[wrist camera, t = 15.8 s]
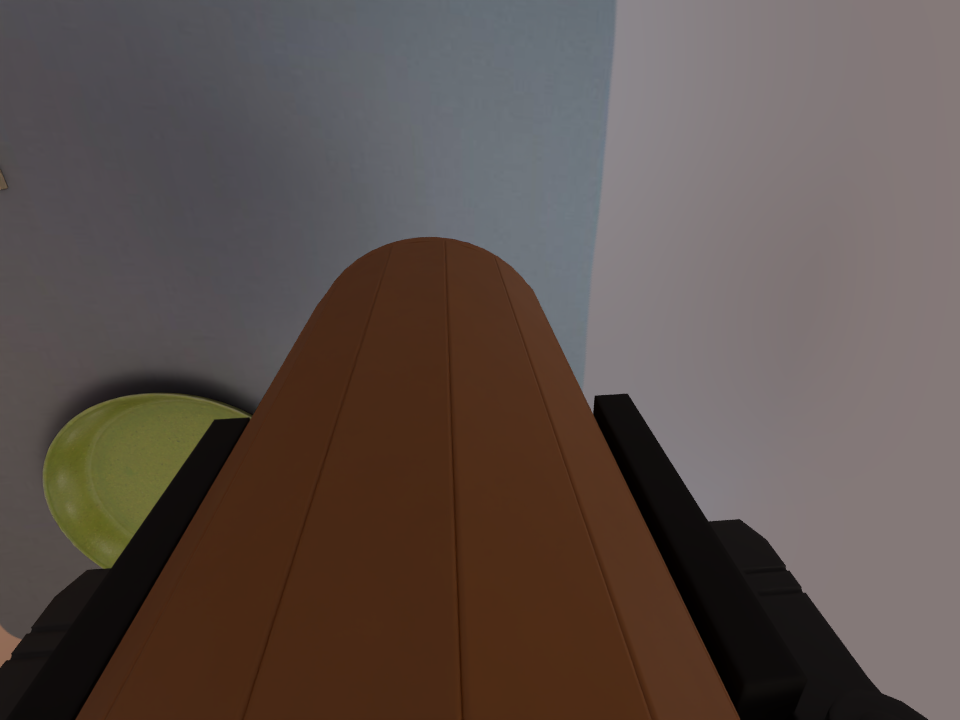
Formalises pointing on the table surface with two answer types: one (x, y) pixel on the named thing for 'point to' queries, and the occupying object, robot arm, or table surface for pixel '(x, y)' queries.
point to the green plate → (122, 465)
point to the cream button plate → (2, 182)
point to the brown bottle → (417, 531)
